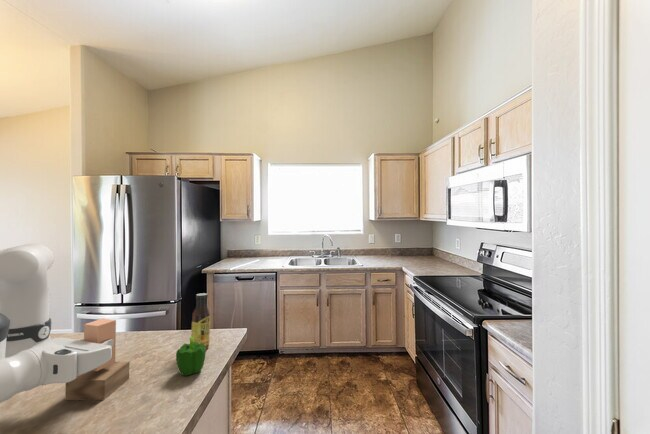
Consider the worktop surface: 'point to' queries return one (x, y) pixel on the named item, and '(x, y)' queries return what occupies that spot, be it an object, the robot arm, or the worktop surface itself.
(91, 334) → the terracotta block
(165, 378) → the worktop surface
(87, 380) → the walnut block
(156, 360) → the worktop surface
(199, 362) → the bell pepper
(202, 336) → the sauce bottle
